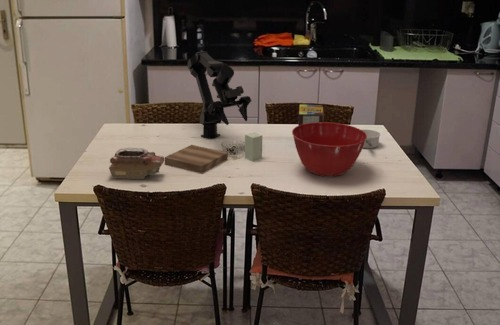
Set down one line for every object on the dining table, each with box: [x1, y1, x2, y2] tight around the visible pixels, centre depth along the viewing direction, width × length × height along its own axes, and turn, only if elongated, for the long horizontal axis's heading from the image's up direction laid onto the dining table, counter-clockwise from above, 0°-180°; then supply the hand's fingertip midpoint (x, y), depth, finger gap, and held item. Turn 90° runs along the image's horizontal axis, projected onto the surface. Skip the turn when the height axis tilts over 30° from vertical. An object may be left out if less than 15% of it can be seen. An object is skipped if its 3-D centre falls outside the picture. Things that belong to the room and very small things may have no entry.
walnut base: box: [164, 144, 229, 174], centre depth 234 cm, size 18×18×3 cm
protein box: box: [297, 104, 324, 126], centre depth 256 cm, size 10×15×16 cm
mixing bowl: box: [291, 121, 367, 178], centre depth 225 cm, size 28×28×16 cm
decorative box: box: [108, 147, 165, 180], centre depth 219 cm, size 13×20×10 cm, turn 81°
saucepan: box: [361, 129, 381, 149], centre depth 251 cm, size 12×20×6 cm, turn 175°
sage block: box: [244, 132, 263, 162], centre depth 238 cm, size 5×5×10 cm
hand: (237, 122), depth 240 cm, fingers open, 9 cm apart
